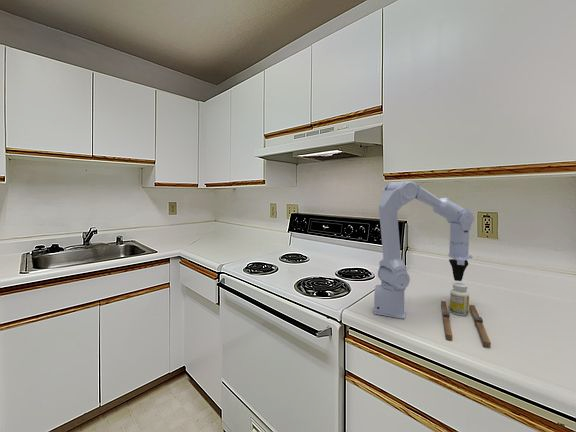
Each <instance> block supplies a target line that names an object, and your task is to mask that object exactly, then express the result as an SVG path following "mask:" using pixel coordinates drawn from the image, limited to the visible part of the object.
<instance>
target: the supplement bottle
mask: <svg viewBox="0 0 576 432" xmlns="http://www.w3.org/2000/svg"><path fill="white" fill-rule="evenodd" d="M452 288H453V289H451V290H450V293H449V313H450V314H454V315H456V316H461V317H465V316H468V315H469V305H470V293H469V291H468V285H467V284H465V283H462V282H461V283H460V282H454V283H453V284H452Z"/></svg>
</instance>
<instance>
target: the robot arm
mask: <svg viewBox="0 0 576 432" xmlns="http://www.w3.org/2000/svg"><path fill="white" fill-rule="evenodd" d="M413 200H417V201H418V202H419V201H420V202H421V203H423V204H426V205H427V206H430V207H432V211H433V212H434V213H435V214H437V215H439V216H441V218H445V220H446V222H447V223H448V224H450V225H449V248H448V249H449V252H448V257H449V258H450V259H448V262H449V264H450V265H451V270H452V275H453V280H454V281H457V282H462V280H463V277H464V274H465V270H466V269H467V267H468V266H469V262H468V259H472V258H473V255H472V254H469V247H470V245H469V244H470V230H471V229H472V224H473V223H474V221H475V216H474V213H473V212H472V210H470V209H469V208H463V207H461V205H460V204H459V203H458V204H457V203H454V202H452V201H451V198H449V197H441V198H438V197H437V196H435V195H434V194H433V193H431V192H429V191H428V190H426V189H425V188H423V187H422V186H421V184H419V183H416V182H414V181H413V180H405V181H390V182H388V183H387V184H386V185H385V186H384V187H383V188H382V196H381V198H380V203H378V204H379V205H378V213H379V214H378V215H379V225H380V235H381V237H380V238H381V247H382V259H381V260H380V261H379V267H378V270H377V277H378V279H379V280H380V283H381V284H376V285H375V286H374V294H373V295H374V300H373V301H374V304H373V305H374V307H373V310H374V311H373V314H375V315H379V316H384V317H391V318H397V319H402V320H404V319H405V317H406V312H407V308H405V290H406V288H408V286H409V284H410V281H411V278H410V274H409V273H408V271H407V270H408V269H407V265H405V263H404V261H403V260H402V257H401V256H402V255H401V244H400V230H399V217H398V211H399V210H400V209H401V208H402V207H403V206H405V205H407V204H408V203H410V202H412V201H413Z"/></svg>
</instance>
